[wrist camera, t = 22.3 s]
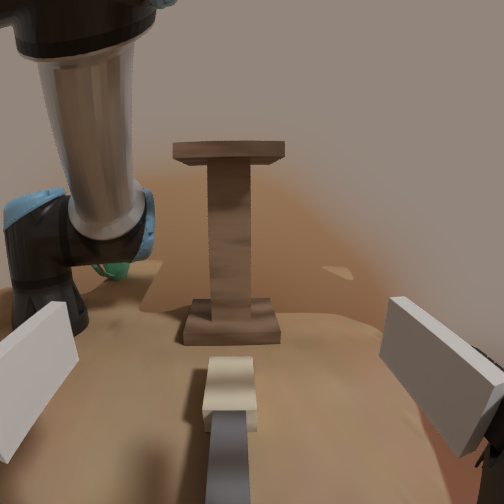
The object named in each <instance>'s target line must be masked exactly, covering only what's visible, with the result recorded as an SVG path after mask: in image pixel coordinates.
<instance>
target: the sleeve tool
mask: <svg viewBox="0 0 504 504" xmlns="http://www.w3.org/2000/svg"><path fill="white" fill-rule="evenodd" d="M202 413H203V421H204V429H205V432H211V437H210V449H209V460H208V472H207V485H206V498H205V504H251V503H250V484H249V464H248V443H247V432H257V404H256V393H255V381H254V370H253V358H252V356H229V357H211V356H210V359H209V366H208V372H207V379H206V386H205V393H204V400H203V407H202Z"/></svg>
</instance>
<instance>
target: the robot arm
mask: <svg viewBox="0 0 504 504" xmlns="http://www.w3.org/2000/svg"><path fill="white" fill-rule="evenodd" d="M176 2H177V0H0V28H4V27H7V26H12V27H13V29H14V34H15V39H16V46H17V51H18V53H19V54H20V56H22V57H23V58H25V59H28V60H31V61H34V62H37V63H38V68H39V74H40V79H41V85H42V89H43V94H44V99H45V103H46V108H47V112H48V116H49V120H50V124H51V128H52V132H53V136H54V139H55V143H56V146H57V150H58V153H59V156H60V160H61V163H62V166H63V169H64V173H65V176H66V178H67V182H68V185H69V188H70V191H71V195H70V196H69V195H68V196H65V195H66V192H65V189H64V188H54V189H49V190H45V191H40V192H36V193H33V194H29V195H26V196H22V197H19V198H17V199H14V200H11V201H10V202H8V203H7V204H6V206H5V208H4V229H3V232H4V234H5V243H6V251H7V258H8V264H9V271H10V276H11V281H12V287H13V300H12V327H13V332H12V333H11V334H9V335H8V336H7V337H6V338H5V339H3V340H2V341H1V342H0V461H1V462H4V463H6V464H8V463H9V461H10V460H11V458H12V456H13V455H14V453H15V452H16V450H17V448H18V447H19V445H20V444H21V442H22V441H23V439H24V438H25V436H26V435H27V433H28V432H29V430H30V429H31V427H32V426H33V424H34V423H35V421H36V420H37V418H38V417H39V415H40V414H41V412H42V411H43V409H44V408H45V407H46V405H47V404H48V402H49V401H50V399H51V398H52V397H53V395H54V394H55V392H56V391H57V390H58V388H59V387H60V385H61V384H62V383H63V381H64V380H65V379H66V377H67V376H68V374H69V373H70V372H71V370H72V369H73V368H74V366H75V365H76V364H77V362H78V361H79V357H78V354H77V350H76V346H75V342H74V338H73V336H75V335H77V334H78V333H80V332H81V331H83V330H84V329H85V328H86V327H87V325H88V323H89V317H88V312H87V308H86V306H85V304H84V302H83V300H82V298H81V296H80V294H79V292H78V290H77V288H76V285H75V283H74V281H73V278H72V271H71V267H73V266H85V265H98V264H111V263H124V262H126V263H133V262H135V261H142V260H145V259H147V258H148V257H149V256H150V254H151V252H152V249H153V243H154V234H153V233H154V228H155V209H154V198H153V194H152V193H151V192H150V191H149V190H147V189H142V187H141V185H140V184H139V183H138V182H137V180H136V179H134V178H133V161H132V120H131V119H132V109H131V108H132V72H133V70H132V69H133V53H134V42H135V41H136V40H138V39H139V38H140V37H142V36H143V35H144V34H146V33H147V32H148V31H149V30H150V29H151V28H152V26H153V25H154V22H155V15H156V9H164V8H165V7H168V6H172V5H174V4H175V3H176ZM379 356H380V358H381V359H382V360H383V361H384V363H385V364H386V365H387V366H388V368H389V369H390V370H391V371H392V373H393V374H394V375H395V376H396V378H397V379H398V380H399V382H400V383H401V384H402V385H403V387H404V388H405V389H406V390H407V392H408V393H409V394H410V396H411V397H412V398H413V399H414V401H415V402H416V403H417V405H418V406H419V407H420V409H421V410H422V411H423V412H424V414H425V415H426V416H427V418H428V419H429V420H430V422H431V423H432V424H433V425H434V427H435V428H436V429H437V431H438V432H439V434H440V435H441V436H442V437H443V439H444V440H445V441H446V442H447V444H448V445H449V447H450V448H451V449H452V451H453V452H454V454H455V455H456V456H457V458H461V457H463V456H465V455H467V454H469V453H472V452H474V451H476V449H477V448H478V446H479V444H480V442H481V441H482V439H483V437H485V438H486V439H487V440H488V441H489V443H488V444H487V446H486V448H485V450H484V451H483V453H482V454H481V456H480V457H479V459H478V461H477V462H476V465H475V467H478V466H479V464H480V463H481V461H483V460H484V461H483V466H482V468H483V469H482V477H481V483H480V490H479V495H478V501H477V504H504V369H503V368H502V367H501V366H499V365H498V364H497V363H494V361H493V360H492V359H491V358H489V357H488V358H487V355H486V354H484V353H483V352H482V351H480V350H479V349H478V348H475V347H473V346H471V345H469V344H467V343H466V342H465V341H464V340H462V339H461V338H460V337H458V336H457V335H456V334H455V333H453V332H452V331H451V330H449V329H448V328H447V327H445V326H444V325H443V324H441V323H440V322H439V321H437V320H436V319H435V318H433V317H432V316H430V315H429V314H428V313H426V312H425V311H424V310H423V309H421V308H420V307H418V306H417V305H416V304H414V303H413V302H412V301H410V300H409V299H407V298H406V297H405V296H403V297H391V298H389V302H388V310H387V315H386V321H385V328H384V333H383V338H382V344H381V349H380V354H379Z"/></svg>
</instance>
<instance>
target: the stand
mask: <svg viewBox="0 0 504 504" xmlns="http://www.w3.org/2000/svg"><path fill="white" fill-rule="evenodd" d="M283 157H285V142H284V141H205V142H204V141H201V142H180V143H173V159H175V160H177V161H180V162H182V163H184V164H187V165H189V166H196V165H207V174H208V175H207V176H208V177H207V181H208V184H207V185H208V237H209V268H210V292H211V299H194V300H193V302H192V305H191V308H190V311H189V315H188V318H187V321H186V324H185V328H184V331H183V341H184V345H193V346H213V345H258V344H280V337H281V331H280V328H279V325H278V322H277V319H276V316H275V313H274V310H273V307H272V304H271V301H270V298H251V221H250V220H251V210H250V209H251V208H250V207H251V204H250V201H251V200H250V198H251V197H250V196H251V195H250V165H254V164H255V165H261V164H262V165H265V164H266V165H269V164H272V163H274V162H276V161H277V160H279V159H281V158H283Z"/></svg>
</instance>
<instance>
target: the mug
mask: <svg viewBox="0 0 504 504" xmlns="http://www.w3.org/2000/svg"><path fill="white" fill-rule="evenodd" d="M91 266H92V267H93V268H94V269H95V270H96V272H97V273H98V274H99V275H101V276H105V277H109V278H110V279H114V280H117V279H123V278H126V277H127V274H128V270H129V266H130V263H126V262H124V263H111V264H103V266H104V268H105V270H106V272H107V273H106V272H104V271H103V269H102V268H101V267H100V265H99V264H98V265H91Z"/></svg>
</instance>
